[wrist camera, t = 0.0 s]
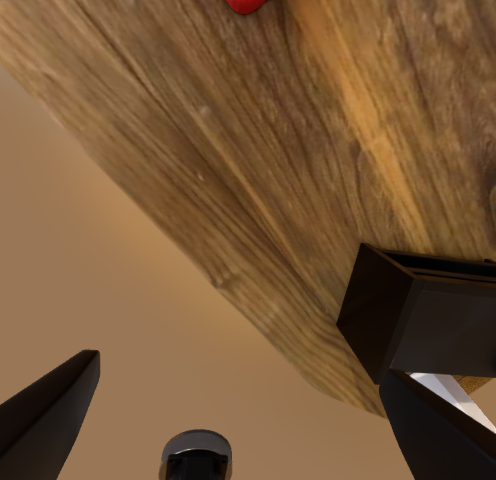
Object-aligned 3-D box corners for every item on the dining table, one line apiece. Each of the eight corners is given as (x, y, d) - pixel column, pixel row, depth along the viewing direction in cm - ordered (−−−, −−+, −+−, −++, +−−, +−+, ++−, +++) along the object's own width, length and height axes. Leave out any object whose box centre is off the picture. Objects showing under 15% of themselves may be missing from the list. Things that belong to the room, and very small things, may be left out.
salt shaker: (458, 371, 32) (573, 479, 22) (430, 404, 33) (525, 522, 23) (423, 357, 31) (527, 464, 20) (395, 392, 32) (479, 510, 22)
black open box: (456, 335, 30) (528, 393, 23) (335, 325, 28) (374, 384, 21) (491, 259, 27) (585, 298, 20) (360, 242, 26) (414, 279, 18)
